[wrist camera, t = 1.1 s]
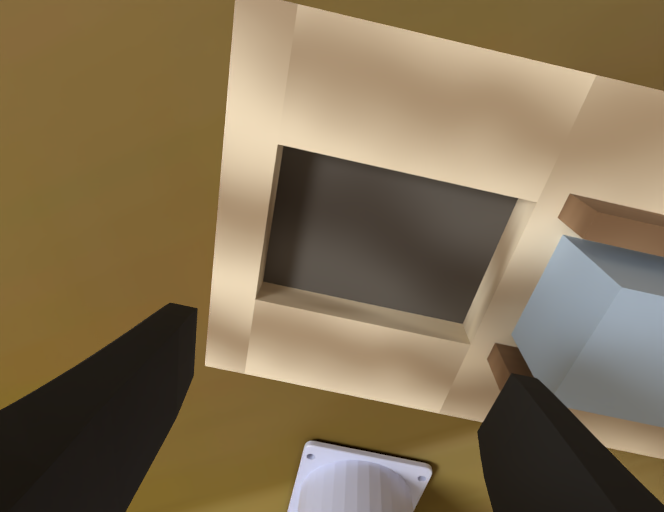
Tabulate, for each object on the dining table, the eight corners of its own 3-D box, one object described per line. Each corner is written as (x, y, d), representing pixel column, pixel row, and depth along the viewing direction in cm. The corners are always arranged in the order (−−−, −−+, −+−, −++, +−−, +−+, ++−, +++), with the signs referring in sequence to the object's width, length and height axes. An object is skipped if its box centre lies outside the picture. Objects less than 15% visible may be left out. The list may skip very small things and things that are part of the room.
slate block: (638, 361, 18) (706, 436, 15) (511, 334, 18) (548, 403, 14) (707, 266, 16) (807, 328, 12) (562, 234, 16) (621, 287, 12)
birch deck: (838, 468, 23) (878, 503, 21) (217, 339, 22) (205, 365, 20) (1151, 211, 16) (1252, 231, 14) (251, -3, 15) (236, -11, 13)
